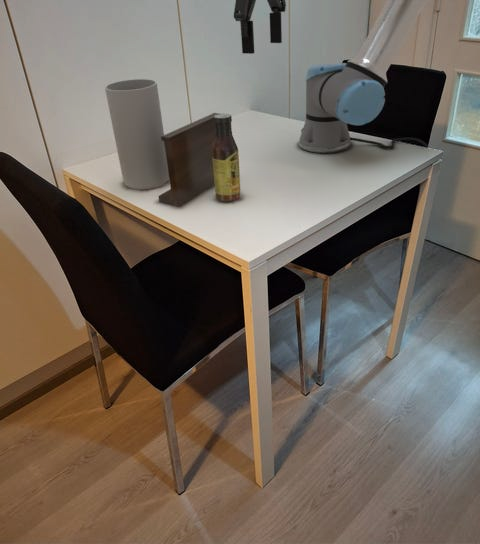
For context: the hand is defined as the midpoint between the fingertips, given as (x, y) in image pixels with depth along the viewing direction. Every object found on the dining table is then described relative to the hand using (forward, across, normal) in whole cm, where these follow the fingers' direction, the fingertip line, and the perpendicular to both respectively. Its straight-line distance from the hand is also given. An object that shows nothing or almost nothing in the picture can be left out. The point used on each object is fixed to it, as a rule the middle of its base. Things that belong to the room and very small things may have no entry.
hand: (262, 48), depth 114 cm
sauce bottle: (+31, +17, -2) cm, 36 cm away
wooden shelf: (+31, +17, -13) cm, 37 cm away
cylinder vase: (+31, +17, -28) cm, 45 cm away
